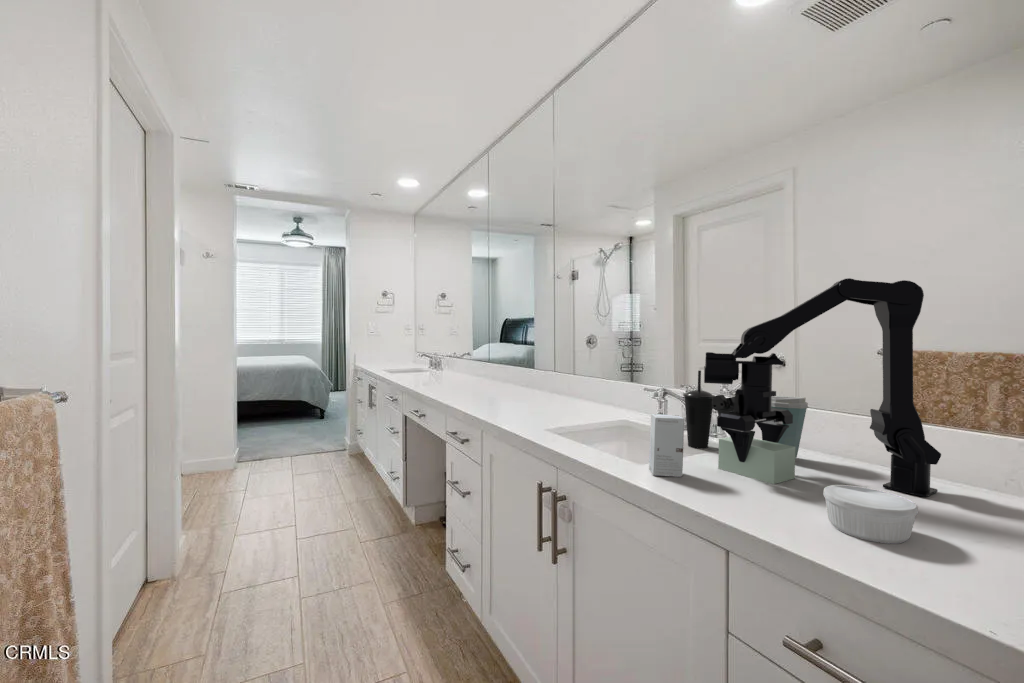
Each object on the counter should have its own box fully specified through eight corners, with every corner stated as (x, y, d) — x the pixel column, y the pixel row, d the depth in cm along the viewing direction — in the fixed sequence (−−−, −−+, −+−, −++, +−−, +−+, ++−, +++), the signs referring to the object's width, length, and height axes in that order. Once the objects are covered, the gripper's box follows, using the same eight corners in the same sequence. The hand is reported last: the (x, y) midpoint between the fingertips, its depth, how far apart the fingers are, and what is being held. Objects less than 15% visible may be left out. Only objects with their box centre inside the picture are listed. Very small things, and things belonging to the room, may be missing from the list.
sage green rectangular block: (739, 463, 103) (739, 435, 103) (794, 478, 93) (795, 446, 93) (718, 468, 99) (718, 438, 99) (773, 484, 89) (774, 451, 89)
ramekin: (889, 520, 72) (890, 487, 72) (937, 552, 61) (938, 514, 61) (810, 513, 75) (811, 481, 75) (843, 543, 64) (844, 505, 64)
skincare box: (653, 476, 93) (654, 417, 93) (648, 469, 97) (649, 413, 97) (684, 477, 93) (685, 418, 92) (677, 470, 97) (678, 414, 97)
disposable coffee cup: (748, 457, 109) (750, 395, 109) (765, 450, 117) (766, 391, 117) (799, 466, 102) (800, 400, 101) (813, 458, 109) (814, 396, 109)
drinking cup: (717, 451, 115) (718, 372, 115) (685, 449, 116) (686, 371, 116) (710, 444, 122) (711, 370, 122) (680, 442, 124) (681, 369, 124)
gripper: (745, 380, 108) (744, 446, 108) (695, 383, 98) (693, 455, 98) (794, 385, 98) (793, 457, 98) (744, 389, 89) (742, 468, 89)
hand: (754, 459), depth 96 cm, fingers open, 9 cm apart
